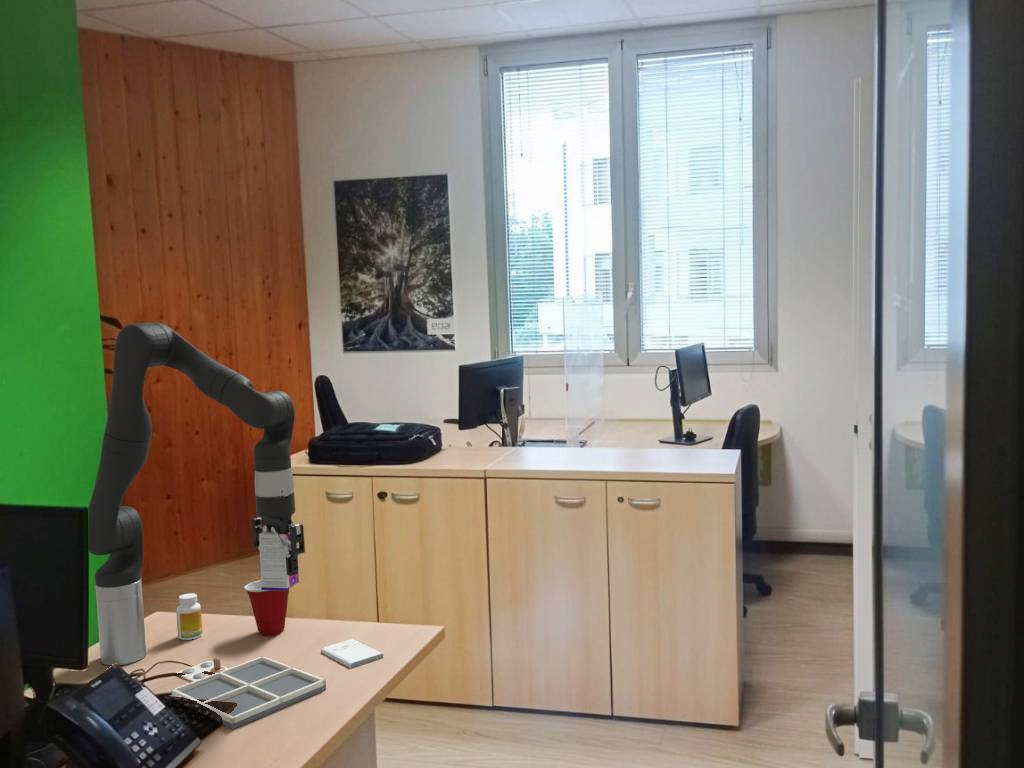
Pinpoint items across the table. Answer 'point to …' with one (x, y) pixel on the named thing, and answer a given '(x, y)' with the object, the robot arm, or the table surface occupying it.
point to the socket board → (253, 689)
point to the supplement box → (274, 563)
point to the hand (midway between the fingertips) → (280, 571)
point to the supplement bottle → (189, 617)
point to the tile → (202, 670)
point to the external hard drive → (351, 653)
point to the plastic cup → (268, 608)
